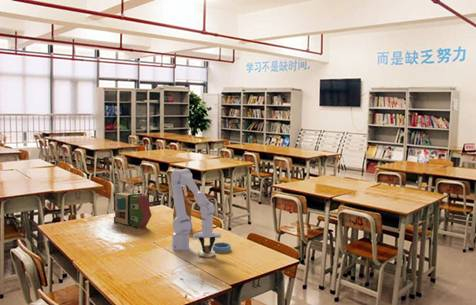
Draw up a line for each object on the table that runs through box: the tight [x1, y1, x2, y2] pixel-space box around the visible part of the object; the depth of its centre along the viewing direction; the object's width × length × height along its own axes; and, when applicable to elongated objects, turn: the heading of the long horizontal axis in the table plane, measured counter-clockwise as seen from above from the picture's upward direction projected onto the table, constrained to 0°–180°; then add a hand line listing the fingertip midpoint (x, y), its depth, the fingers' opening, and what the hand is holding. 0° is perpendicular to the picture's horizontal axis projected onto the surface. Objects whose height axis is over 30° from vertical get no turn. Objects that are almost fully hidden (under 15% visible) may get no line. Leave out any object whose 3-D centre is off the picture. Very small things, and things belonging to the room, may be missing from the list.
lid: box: [197, 244, 216, 257], centre depth 231 cm, size 9×9×4 cm
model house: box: [113, 191, 153, 230], centre depth 283 cm, size 21×9×30 cm
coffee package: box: [172, 194, 192, 226], centre depth 283 cm, size 10×12×22 cm
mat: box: [197, 251, 217, 259], centre depth 231 cm, size 9×9×1 cm
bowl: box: [211, 242, 232, 254], centre depth 240 cm, size 10×10×3 cm
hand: (206, 251), depth 231 cm, fingers closed on lid, 3 cm apart
